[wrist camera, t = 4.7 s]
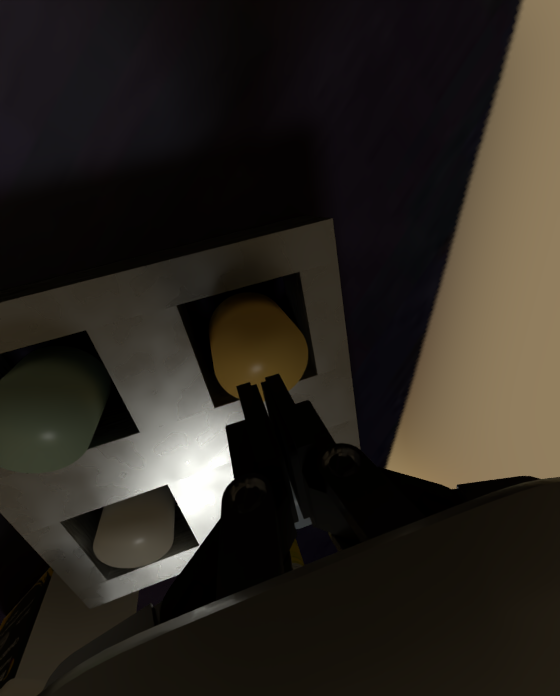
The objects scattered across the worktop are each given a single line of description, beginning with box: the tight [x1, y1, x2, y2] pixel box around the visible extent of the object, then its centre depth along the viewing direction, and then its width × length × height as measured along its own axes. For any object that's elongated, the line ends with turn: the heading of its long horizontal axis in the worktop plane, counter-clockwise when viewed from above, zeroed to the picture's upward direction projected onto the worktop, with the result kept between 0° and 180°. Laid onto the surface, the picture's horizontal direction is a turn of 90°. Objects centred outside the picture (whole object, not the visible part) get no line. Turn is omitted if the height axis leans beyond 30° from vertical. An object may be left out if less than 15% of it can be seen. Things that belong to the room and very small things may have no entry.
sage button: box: [0, 346, 111, 473], centre depth 15 cm, size 4×4×4 cm
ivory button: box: [93, 484, 175, 568], centre depth 21 cm, size 4×4×4 cm
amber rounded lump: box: [209, 292, 308, 401], centre depth 17 cm, size 4×4×4 cm
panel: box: [0, 215, 360, 609], centre depth 20 cm, size 20×20×4 cm
